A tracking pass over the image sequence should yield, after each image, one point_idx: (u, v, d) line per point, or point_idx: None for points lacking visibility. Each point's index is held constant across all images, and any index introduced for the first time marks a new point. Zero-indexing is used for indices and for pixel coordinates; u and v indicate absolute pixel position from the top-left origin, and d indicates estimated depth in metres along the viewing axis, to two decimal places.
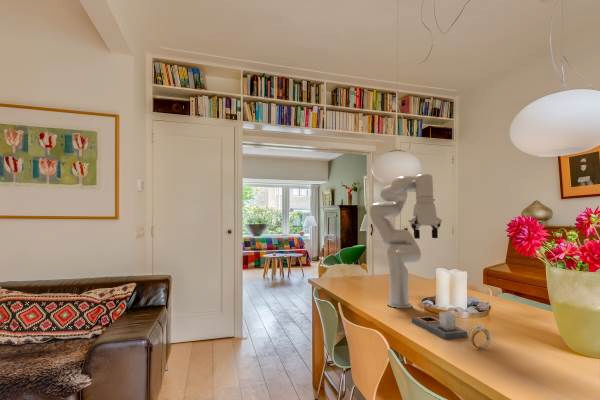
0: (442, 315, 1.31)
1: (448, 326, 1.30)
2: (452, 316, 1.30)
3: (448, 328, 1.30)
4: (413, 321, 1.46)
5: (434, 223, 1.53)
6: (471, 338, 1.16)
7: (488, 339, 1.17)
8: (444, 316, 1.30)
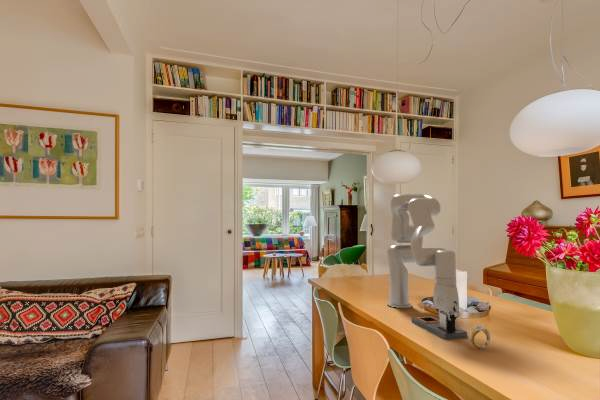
0: (442, 315, 1.31)
1: None
2: None
3: None
4: (413, 321, 1.46)
5: None
6: (471, 338, 1.16)
7: (488, 339, 1.17)
8: (444, 316, 1.30)
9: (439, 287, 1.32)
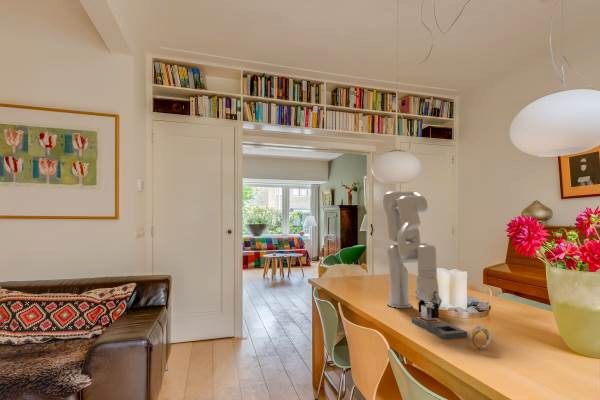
0: (423, 307, 1.43)
1: (429, 317, 1.41)
2: None
3: (429, 319, 1.41)
4: (413, 321, 1.46)
5: None
6: (471, 338, 1.16)
7: (488, 339, 1.17)
8: (425, 308, 1.42)
9: (421, 279, 1.44)
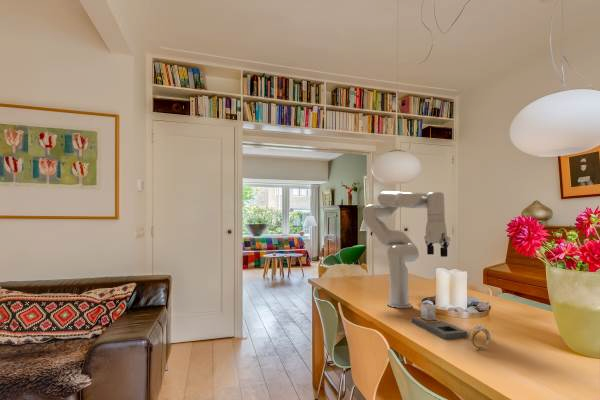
0: (423, 307, 1.43)
1: (429, 317, 1.41)
2: (433, 308, 1.42)
3: (429, 319, 1.41)
4: (413, 321, 1.46)
5: None
6: (471, 338, 1.16)
7: (488, 339, 1.17)
8: (425, 308, 1.42)
9: (430, 223, 1.56)
